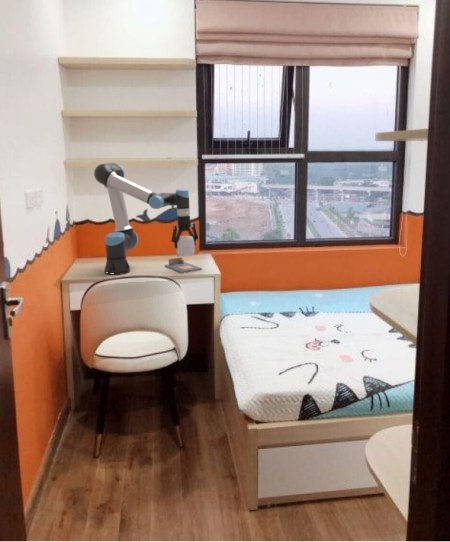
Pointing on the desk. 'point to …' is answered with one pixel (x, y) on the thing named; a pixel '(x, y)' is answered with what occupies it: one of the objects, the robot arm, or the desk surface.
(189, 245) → the photo printer
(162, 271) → the desk surface
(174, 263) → the dock
